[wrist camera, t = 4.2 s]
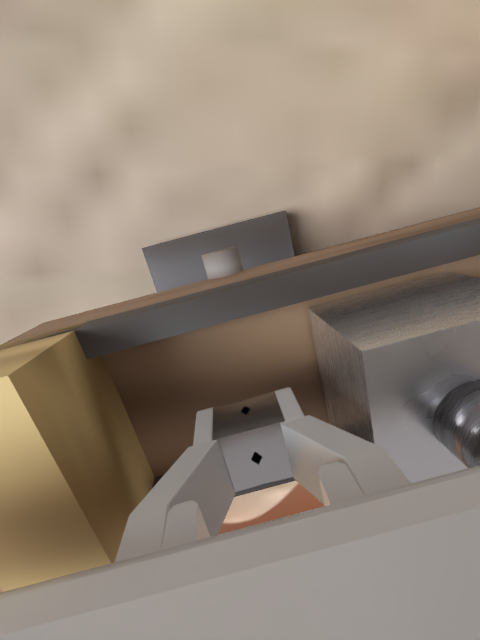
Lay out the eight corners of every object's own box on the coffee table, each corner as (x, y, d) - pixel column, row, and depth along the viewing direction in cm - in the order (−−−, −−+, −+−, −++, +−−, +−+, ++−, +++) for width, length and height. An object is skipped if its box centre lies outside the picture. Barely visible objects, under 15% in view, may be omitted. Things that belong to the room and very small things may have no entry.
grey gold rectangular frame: (95, 260, 19) (-195, 324, 6) (464, 163, 19) (1051, -4, 6) (156, 413, 22) (67, 677, 9) (467, 330, 23) (833, 471, 9)
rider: (307, 307, 10) (394, 377, 5) (444, 271, 10) (657, 306, 5) (329, 423, 12) (412, 563, 7) (448, 391, 12) (619, 507, 7)
